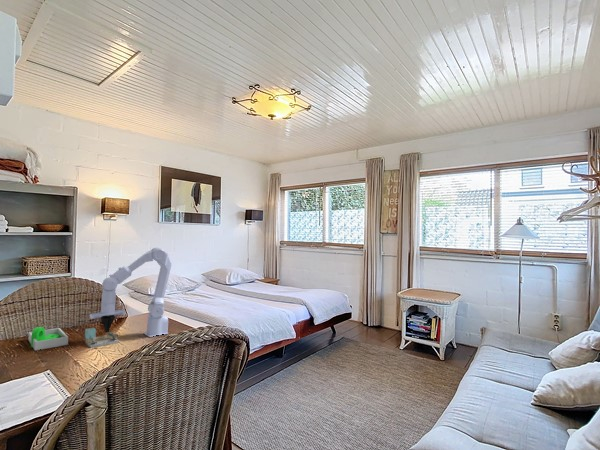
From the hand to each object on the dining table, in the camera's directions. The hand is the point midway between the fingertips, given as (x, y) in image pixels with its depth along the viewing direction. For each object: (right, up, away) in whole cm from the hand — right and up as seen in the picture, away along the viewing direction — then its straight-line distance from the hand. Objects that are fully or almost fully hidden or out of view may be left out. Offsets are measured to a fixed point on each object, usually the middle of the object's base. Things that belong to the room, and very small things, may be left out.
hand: (106, 331), depth 154 cm
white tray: (-23, -3, -7) cm, 24 cm away
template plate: (+2, -4, -5) cm, 7 cm away
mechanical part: (-23, -3, -7) cm, 24 cm away
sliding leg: (-3, -2, -6) cm, 7 cm away
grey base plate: (0, -4, -3) cm, 5 cm away
